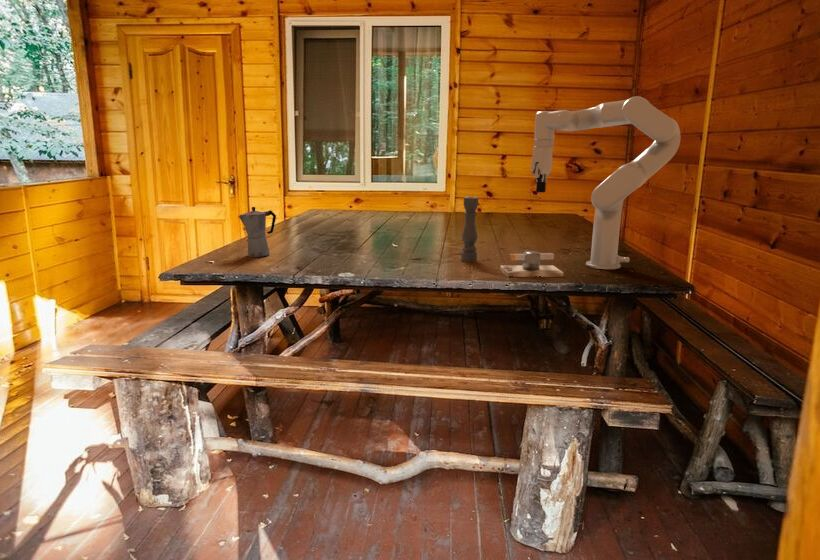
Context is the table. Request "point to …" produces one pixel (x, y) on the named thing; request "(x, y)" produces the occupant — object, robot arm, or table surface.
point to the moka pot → (257, 231)
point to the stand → (531, 271)
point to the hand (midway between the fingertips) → (540, 192)
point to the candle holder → (469, 230)
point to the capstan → (531, 259)
